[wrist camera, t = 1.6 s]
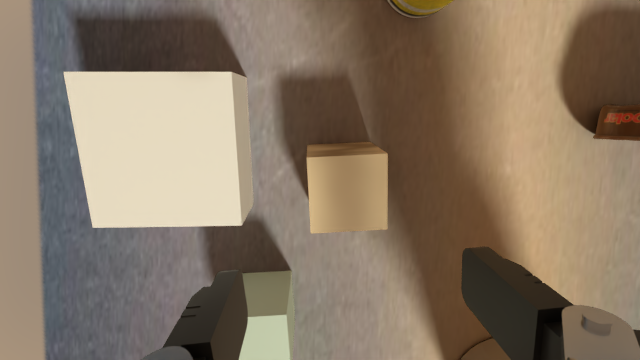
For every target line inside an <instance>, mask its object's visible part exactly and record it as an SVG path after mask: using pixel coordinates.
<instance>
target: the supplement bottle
mask: <svg viewBox="0 0 640 360" xmlns="http://www.w3.org/2000/svg"><path fill="white" fill-rule="evenodd" d="M387 1H388V2H389V4H390V5H391V6H392V7H393V8H394V9H395V10H396V11H397V12H399V13H400V14H402V15H404V16H407V17H411V18H422V17H427V16H430V15H432V14H434V13H436V12H438V11H439V10H441V9H442V8H444V7H445V6H447V5H448V4H449V3H451V2H452V1H453V0H387Z"/></svg>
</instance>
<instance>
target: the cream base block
mask: <svg viewBox="0 0 640 360" xmlns="http://www.w3.org/2000/svg"><path fill="white" fill-rule="evenodd" d="M64 78H65V83H66V88H67V94H68V99H69V104H70V110H71V115H72V120H73V125H74V131H75V136H76V141H77V147H78V152H79V157H80V162H81V168H82V173H83V178H84V184H85V189H86V194H87V200H88V205H89V210H90V215H91V221H92V226H93V228H107V227H180V226H242V224H243V222H244V221H245V219H246V217H247V215H248V213H249V212H250V210H251V208H252V206H253V204H254V200H253V182H252V164H251V146H250V129H249V111H248V93H247V77H244V76H241V75H239V74H236V73H233V72H64Z"/></svg>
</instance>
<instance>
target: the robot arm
mask: <svg viewBox="0 0 640 360" xmlns="http://www.w3.org/2000/svg"><path fill="white" fill-rule="evenodd" d="M462 294H463V298H464V301H465V303H466V304H467V306H468V307H469V308H470V310H471V311H472V312H473V313H474V315H475V316H476V317H477V318H478V320H479V321H480V322H481V323H482V325H483V326H484V327H485V328H486V330H487V331H488V332H489V333H490V334H491V336H492V337H493V338H492V339H488V340H486V341H484V342H481V343H479V344H478V345H476V346H474V347H473V348H471V349H470V350H469V351H468V352H467V353H466V354H465V355H464V356H463V357H462V358H461V360H640V330H633V329H632V328H631V326H630V325H629V324H628V323H626V322H625V321H624V320H622V319H621V318H619V317H617V316H616V315H614V314H611V313H609V312H607V311H604V310H601V309H598V308H594V307H590V306H583V305H573V304H572V303H570V302H569V301H568V300H566V299H565V298H564V297H562V296H561V295H560V294H558V293H557V292H556V291H554V290H553V289H552V288H550V287H549V286H548V285H546V284H545V283H542V281H541V280H540V279H538V278H537V277H536V276H533V275H532V273H530V272H529V271H528V270H526V269H525V268H524V267H522V266H521V265H519V264H516V263H514V262H512V261H509V260H507V259H503V258H502V257H501V256H499V255H498V254H497V253H496V252H494V251H493V250H492V249H490V248H489V247H476V248H466V249H465V250H464V251H463V257H462ZM247 323H248V308H247V302H246V295H245V288H244V282H243V275H242V272H241V270H240V269H239V270H228V271H219V272H218V273H217V275H216V277H215V279H214V281H213V283H212V285H211V287H203V288H202V289H201V290H199V291H198V292H197V293H196V294H195V295H194V296H192V298H191V299H190V301H189V303H188V305H187V306H186V309H185V310H184V311H183V313H182V315H181V318H180V319H179V320H178V322H177V324H176V325H175V327H174V329H173V330H172V332H171V334H170V336H169V337H168V339H167V341H166V343H165V344H164V346H163V348H161V349H159V350H156V351H154V352H152V353H150V354H148V355H147V356H145V357H144V358H142V359H141V360H239V356H240V352H241V348H242V345H243V341H244V337H245V333H246V329H247Z"/></svg>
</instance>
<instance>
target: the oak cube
mask: <svg viewBox="0 0 640 360" xmlns="http://www.w3.org/2000/svg"><path fill="white" fill-rule="evenodd" d="M307 174H308V192H309V209H310V227H311V233H328V232H346V231H365V230H383V229H387V197H388V153H386V152H385V151H383V150H382V149H380V148H379V147H377V146H376V145H374V144H373V143H371V142H354V143H334V144H313V145H307Z"/></svg>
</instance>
